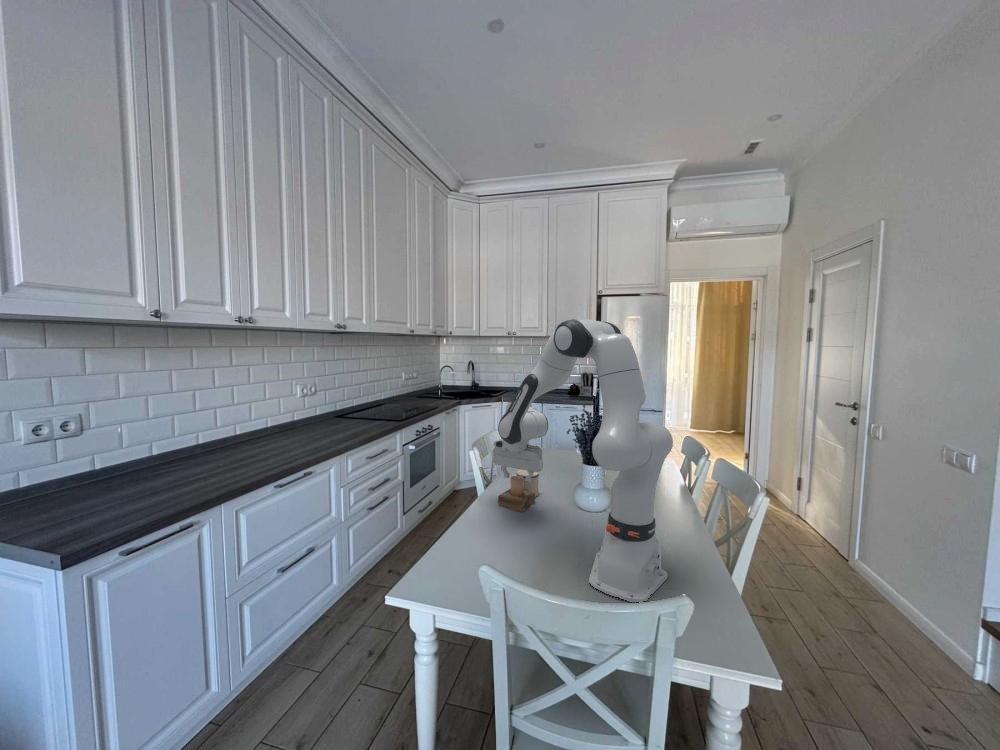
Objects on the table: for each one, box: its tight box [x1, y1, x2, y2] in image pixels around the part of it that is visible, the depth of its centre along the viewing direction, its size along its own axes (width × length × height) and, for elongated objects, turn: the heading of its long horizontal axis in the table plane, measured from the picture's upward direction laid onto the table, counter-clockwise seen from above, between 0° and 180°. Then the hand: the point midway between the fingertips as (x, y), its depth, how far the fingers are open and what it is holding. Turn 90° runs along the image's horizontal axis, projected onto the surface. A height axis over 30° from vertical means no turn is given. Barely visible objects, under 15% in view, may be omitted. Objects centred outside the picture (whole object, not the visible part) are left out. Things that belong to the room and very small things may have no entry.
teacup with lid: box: [509, 469, 540, 498], centre depth 158 cm, size 12×9×12 cm
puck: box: [509, 475, 524, 496], centre depth 148 cm, size 5×5×6 cm
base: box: [497, 488, 536, 513], centre depth 148 cm, size 10×10×4 cm
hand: (517, 479), depth 147 cm, fingers open, 8 cm apart
